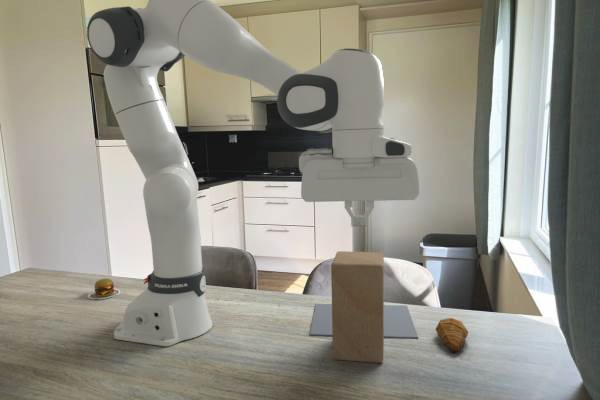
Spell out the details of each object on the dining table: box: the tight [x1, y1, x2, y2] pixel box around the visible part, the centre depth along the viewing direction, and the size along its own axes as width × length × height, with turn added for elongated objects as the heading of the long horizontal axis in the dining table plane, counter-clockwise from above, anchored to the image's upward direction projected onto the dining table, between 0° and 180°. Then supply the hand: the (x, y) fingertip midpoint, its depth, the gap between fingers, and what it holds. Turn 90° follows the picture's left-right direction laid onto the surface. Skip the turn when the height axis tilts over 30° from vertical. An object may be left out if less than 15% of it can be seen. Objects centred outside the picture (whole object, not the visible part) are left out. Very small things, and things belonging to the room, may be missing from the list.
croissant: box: [435, 317, 469, 354], centre depth 90 cm, size 14×7×5 cm, turn 165°
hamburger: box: [87, 278, 121, 300], centre depth 124 cm, size 12×12×6 cm
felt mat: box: [309, 303, 419, 339], centre depth 102 cm, size 24×18×1 cm
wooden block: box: [330, 250, 385, 364], centre depth 86 cm, size 10×10×20 cm
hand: (359, 225), depth 74 cm, fingers closed
